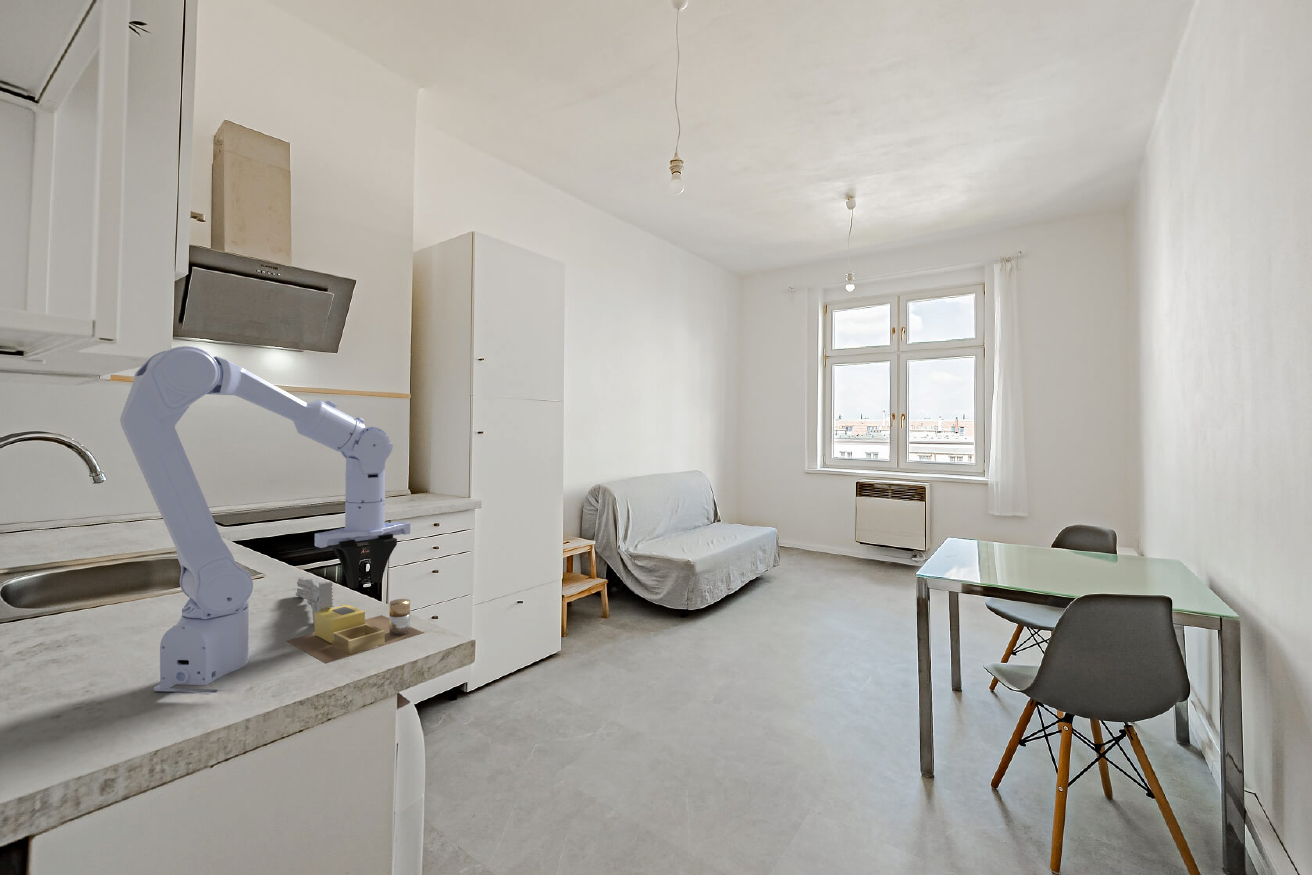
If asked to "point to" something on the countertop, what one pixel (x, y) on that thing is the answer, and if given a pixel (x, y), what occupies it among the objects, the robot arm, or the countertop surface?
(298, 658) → the countertop surface
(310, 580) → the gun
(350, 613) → the block
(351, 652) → the board
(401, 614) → the silver and brown cylinder
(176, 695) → the countertop surface
